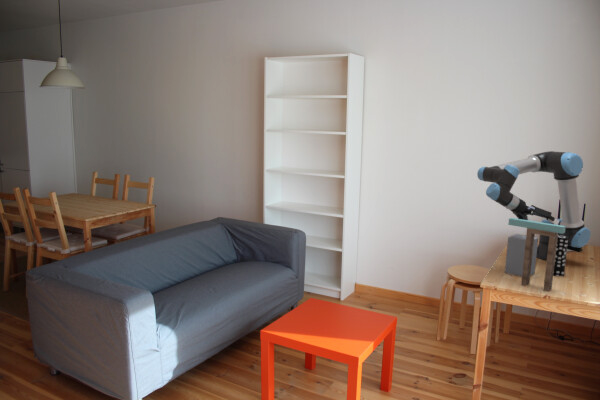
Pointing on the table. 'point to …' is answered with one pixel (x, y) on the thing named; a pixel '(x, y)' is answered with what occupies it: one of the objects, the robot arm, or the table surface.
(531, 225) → the bar
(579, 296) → the table surface
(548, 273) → the stand
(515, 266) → the block
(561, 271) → the white-spotted black cylinder
